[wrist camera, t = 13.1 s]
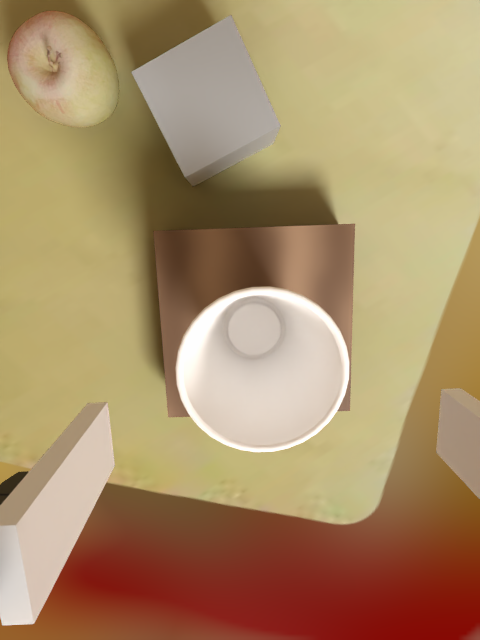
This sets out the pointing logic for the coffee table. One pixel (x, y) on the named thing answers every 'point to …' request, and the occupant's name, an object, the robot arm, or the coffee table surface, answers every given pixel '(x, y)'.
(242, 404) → the cup
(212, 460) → the coffee table surface
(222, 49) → the grey block
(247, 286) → the walnut block
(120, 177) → the coffee table surface
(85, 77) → the fruit
